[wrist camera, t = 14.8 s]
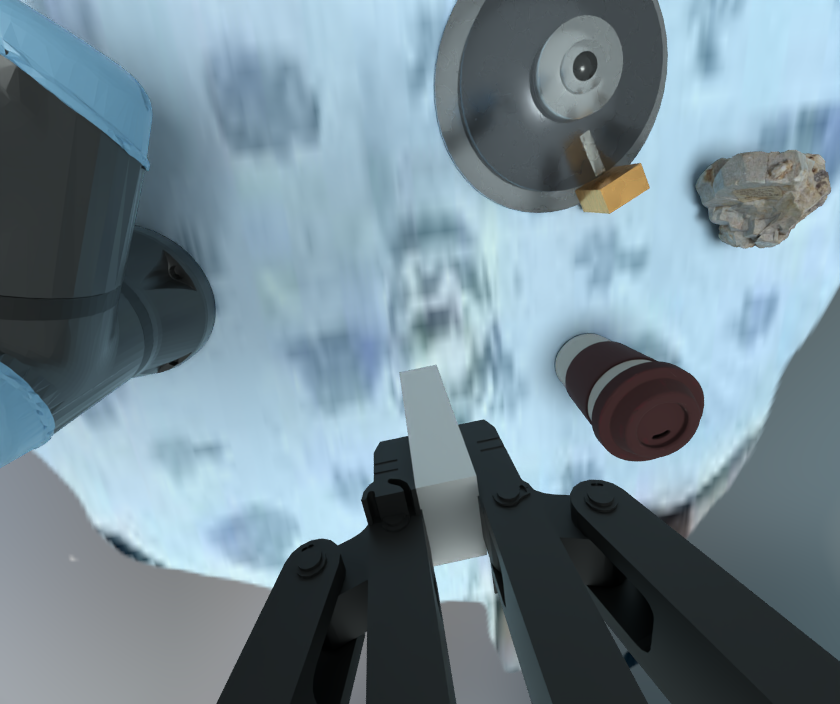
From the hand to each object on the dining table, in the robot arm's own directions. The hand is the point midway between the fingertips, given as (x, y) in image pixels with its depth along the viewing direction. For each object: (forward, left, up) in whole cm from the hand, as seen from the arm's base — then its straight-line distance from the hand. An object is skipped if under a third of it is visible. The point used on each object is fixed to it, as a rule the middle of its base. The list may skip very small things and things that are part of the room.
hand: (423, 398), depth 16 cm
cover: (+10, +21, -25) cm, 34 cm away
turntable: (+10, +20, -27) cm, 35 cm away
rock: (+32, +16, -28) cm, 46 cm away
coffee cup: (+24, -5, -28) cm, 38 cm away
